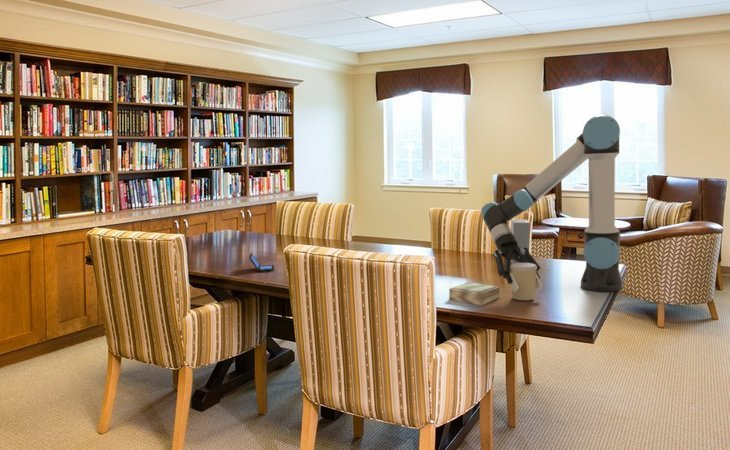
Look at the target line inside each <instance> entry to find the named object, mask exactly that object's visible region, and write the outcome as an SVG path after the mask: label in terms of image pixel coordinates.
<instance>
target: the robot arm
mask: <svg viewBox="0 0 730 450" xmlns="http://www.w3.org/2000/svg"><path fill="white" fill-rule="evenodd" d="M620 134H621V130H620V125H619V123H618V121H617V120H616V119H615V118H613V117H612V116H610V115H608V114H600V115H595V116H593V117H591V118H589V120H588V121H587V122H586V123H585V125H584V126H583V129H582V133H581V134H580V135H579V136H577V137H576V139H575V140H576V141H575V142H574V143H573V144H572V145H571V146H570V147H569V148H568V149H566V150H565V151H564V152H563V153H561V154H560V155H559V156H558V157H557V158H556V159H555V160H554V161H552V162H551V163H550V164H549V165H547V166H546V167H545V168H544V169H543V170H542V171H541V172H539V174H537V176H535V177H533V179H531V180H530V181H529V182H528V183H527V184H525V185H524V187H522V188H521V189H520V190H518V191H515V193H513V194H511V196H509V197H507V198H506V199H504V200H503V201H501V202H499V203H497V202H496V201H491V202H489V203H486V204H484V205H483V206H482V207H481V209H480V214H481V216H482V219H483V222H484V224H485V225H486V227H487V230H488V231H489V233H490V236H491V238H492V240H493V242H494V245H495V247H496V248H497V249H495V251H494V252H493V253H492V256H493V258H494V259H495V264H496V268H497V273H498V276H500V277H502V278H503V279H506V281H507V283H508V285H510V286H511V287H512V289H513V291H514V293H516V292H517V291H518V289H519V287H518V284H517V282H516V280H515V278H514V276H513V274H512V273H511V272H510V266H511V260H516V261H517V262H520V263H533V264H535V265H536V267H537V269H536V283H535V289H536V290H537V291H540V290H541V288H542V287H543V284H542V282H541V280H540V279H541V277H540V274H539V273H538V271H540V269H541V266H540V265H539V264H538V262H537V261H536V259H535V258H534V257H533V256H532V254H531V253H530V250H529V251H528V249H527V248H526V247H525V248H524V249H520V248H519V247H518V245H517V241H516V239H515V237H514V235H513V233H512V231H511V226H510V225H509V223H508V222H509V221H511V219H515V218H516V217H517V216H519V215H521V214H522V213H524V212H525V211H528V210H529V209H530V208H531V207H533V206H534V204H535V203H536V202H537V201H538V200H539V201H540V199H541V198H542V197H544V196H545V195H546V194H547V193H549V191H551V190H552V189H553V188H555V186H557V185H558V184H559V183H560V182H562V181H563V180H564V179H565V178H566V177H568V176H569V175H570V174H571V173H573V172H574V171H575V170H576V169H577V168H578V167H580V166H582V164H583V163H585V162H586V161H587V160H588V226H587V227H586V228H585V229H584V246H583V247H584V248H583V251H582V252H583V258H584V259H585V261H586V262H585V268H584V271H583V274H582V277H581V278H580V279H581V280H580V287H581V288H582V289H585V290H588V291H591V292H592V291H593V292H594V291H595V292H603V293H604V292H605V293H610V292H619V291H623V290H624V282H623V279H622V275H621V272H620V269H619V267H620V266H619V265H620V256H621V255H620V254H621V252H620V242H621V241H620V239H621V231H620V230H619V229H618V228H617V227H616V225H615V223H616V222H615V221H616V220H615V219H616V218H615V214H616V213H615V209H616V208H615V207H616V206H615V205H616V201H615V199H616V196H615V195H616V194H615V191H616V189H615V185H616V183H615V182H616V179H615V178H616V177H615V175H616V172H615V169H616V168H615V163H616V162H615V161H616V160H615V159H616V157H618V155H619V154H620ZM519 256H520V257H519ZM502 257H503V259H502ZM518 257H519V258H518ZM511 287H510V288H511ZM512 289H511V290H512Z"/></svg>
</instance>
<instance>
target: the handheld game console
mask: <svg viewBox="0 0 730 450" xmlns="http://www.w3.org/2000/svg"><path fill="white" fill-rule="evenodd" d="M248 258H249V260H250V262H251V263H252V264H253V266H254V268H255V269H256V273H265V272H264V271H273V272H274V271H275V270H274V269H275V265H274V264H264V265H261V264H259V262H258V260H257V258H255V256H254V254H253V253H250V254H249V257H248Z"/></svg>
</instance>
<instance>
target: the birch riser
mask: <svg viewBox="0 0 730 450" xmlns="http://www.w3.org/2000/svg"><path fill="white" fill-rule="evenodd" d="M448 295H449V297H448V298H449V299H448V300H450V301H454V302H455V301H456V302H461V303H466V304H472V305H478V306H483V305H485V304H489V303H490V302H493V301H495V300H497V299H500V287H499V286H495V285H489V284H482V283H477V282H470V281H469V282H465V283H462V284H459V285H456V286H453V287H449V293H448Z"/></svg>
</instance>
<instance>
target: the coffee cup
mask: <svg viewBox="0 0 730 450" xmlns="http://www.w3.org/2000/svg"><path fill="white" fill-rule="evenodd" d="M536 269H537V267H536V265H535V264H533V263H510V273H512V274H513V276H514V278H515V280H516V282H517V284H518V287H519V289H518V291H517V292H516V293H514V291H513V289H512V287H510V288H511V289H510V290H511V298H512V299H514V300H518V301H531V300H534V299H535V295H536V294H535V293H536V286H535V283H536Z"/></svg>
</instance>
